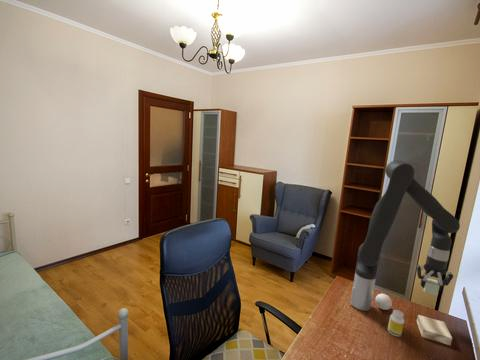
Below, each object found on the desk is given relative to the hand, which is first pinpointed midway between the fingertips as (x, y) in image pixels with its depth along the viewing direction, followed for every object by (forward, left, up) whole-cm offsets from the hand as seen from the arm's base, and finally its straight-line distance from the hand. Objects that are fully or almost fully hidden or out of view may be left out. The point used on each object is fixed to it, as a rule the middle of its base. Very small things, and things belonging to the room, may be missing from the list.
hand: (430, 288), depth 117 cm
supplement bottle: (-14, -19, -16) cm, 28 cm away
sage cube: (0, 0, -1) cm, 1 cm away
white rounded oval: (-18, -5, -16) cm, 24 cm away
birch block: (+2, -10, -16) cm, 19 cm away
